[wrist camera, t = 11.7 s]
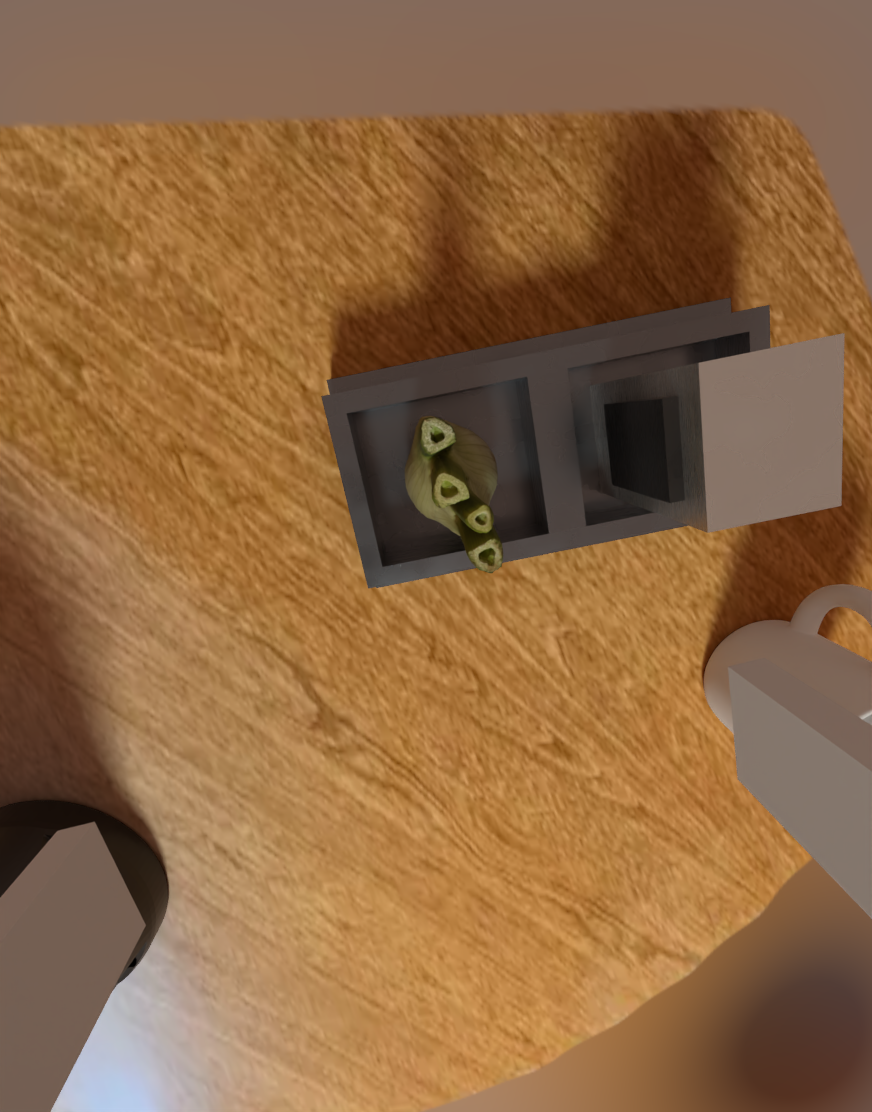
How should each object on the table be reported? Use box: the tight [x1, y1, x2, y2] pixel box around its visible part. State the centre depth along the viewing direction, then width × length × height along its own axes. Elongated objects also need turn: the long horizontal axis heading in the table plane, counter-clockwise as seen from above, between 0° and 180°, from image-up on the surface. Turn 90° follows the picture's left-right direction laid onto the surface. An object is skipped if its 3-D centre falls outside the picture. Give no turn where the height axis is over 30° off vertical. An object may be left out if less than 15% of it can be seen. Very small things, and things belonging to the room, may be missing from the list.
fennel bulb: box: [405, 416, 503, 573], centre depth 23 cm, size 6×5×12 cm
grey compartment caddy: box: [321, 298, 844, 588], centre depth 24 cm, size 22×12×12 cm, turn 101°
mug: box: [704, 584, 872, 734], centre depth 29 cm, size 12×8×10 cm
